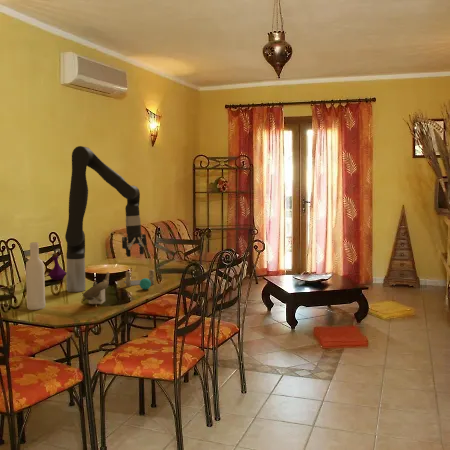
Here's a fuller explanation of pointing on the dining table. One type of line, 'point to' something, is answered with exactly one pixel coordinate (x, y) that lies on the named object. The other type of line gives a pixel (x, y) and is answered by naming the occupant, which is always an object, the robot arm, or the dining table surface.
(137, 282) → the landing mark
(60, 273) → the perfume bottle
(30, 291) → the bottle
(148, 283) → the ball
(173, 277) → the dining table surface
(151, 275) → the right post
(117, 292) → the dining table surface
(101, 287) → the wood carving
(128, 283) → the left post
